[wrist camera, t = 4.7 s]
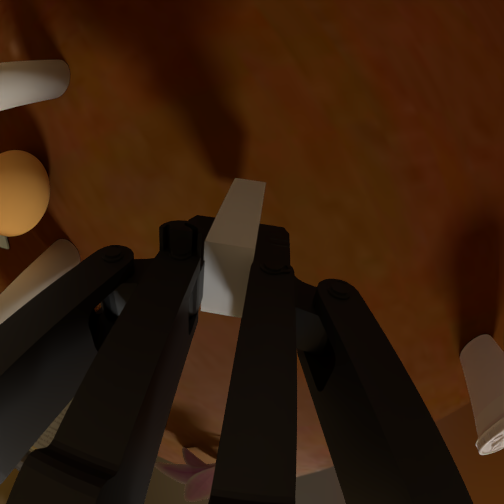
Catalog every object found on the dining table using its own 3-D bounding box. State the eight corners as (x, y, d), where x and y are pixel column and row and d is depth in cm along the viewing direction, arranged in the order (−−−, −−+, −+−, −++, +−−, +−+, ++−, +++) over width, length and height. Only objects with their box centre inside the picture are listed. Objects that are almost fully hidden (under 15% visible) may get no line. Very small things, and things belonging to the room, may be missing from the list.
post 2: (77, 241, 20) (-1, 323, 12) (82, 271, 21) (16, 356, 13) (50, 236, 20) (-27, 310, 12) (56, 265, 21) (-11, 342, 13)
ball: (62, 139, 16) (8, 165, 11) (68, 217, 19) (25, 258, 14) (7, 141, 16) (-46, 166, 11) (15, 211, 19) (-29, 246, 14)
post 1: (71, 56, 13) (-48, 66, 6) (69, 97, 15) (-48, 128, 7) (42, 62, 13) (-71, 79, 6) (39, 100, 15) (-71, 133, 7)
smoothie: (504, 349, 22) (554, 463, 10) (452, 380, 24) (488, 502, 12) (501, 310, 20) (571, 443, 7) (441, 347, 22) (490, 495, 10)
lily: (155, 415, 32) (135, 481, 27) (227, 442, 25) (202, 525, 20) (220, 432, 40) (203, 488, 35) (289, 450, 33) (270, 516, 28)
